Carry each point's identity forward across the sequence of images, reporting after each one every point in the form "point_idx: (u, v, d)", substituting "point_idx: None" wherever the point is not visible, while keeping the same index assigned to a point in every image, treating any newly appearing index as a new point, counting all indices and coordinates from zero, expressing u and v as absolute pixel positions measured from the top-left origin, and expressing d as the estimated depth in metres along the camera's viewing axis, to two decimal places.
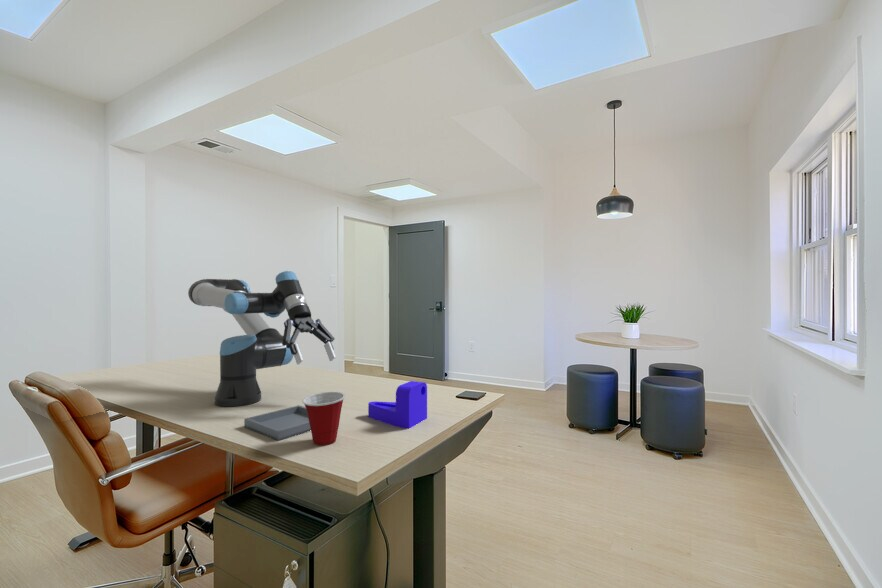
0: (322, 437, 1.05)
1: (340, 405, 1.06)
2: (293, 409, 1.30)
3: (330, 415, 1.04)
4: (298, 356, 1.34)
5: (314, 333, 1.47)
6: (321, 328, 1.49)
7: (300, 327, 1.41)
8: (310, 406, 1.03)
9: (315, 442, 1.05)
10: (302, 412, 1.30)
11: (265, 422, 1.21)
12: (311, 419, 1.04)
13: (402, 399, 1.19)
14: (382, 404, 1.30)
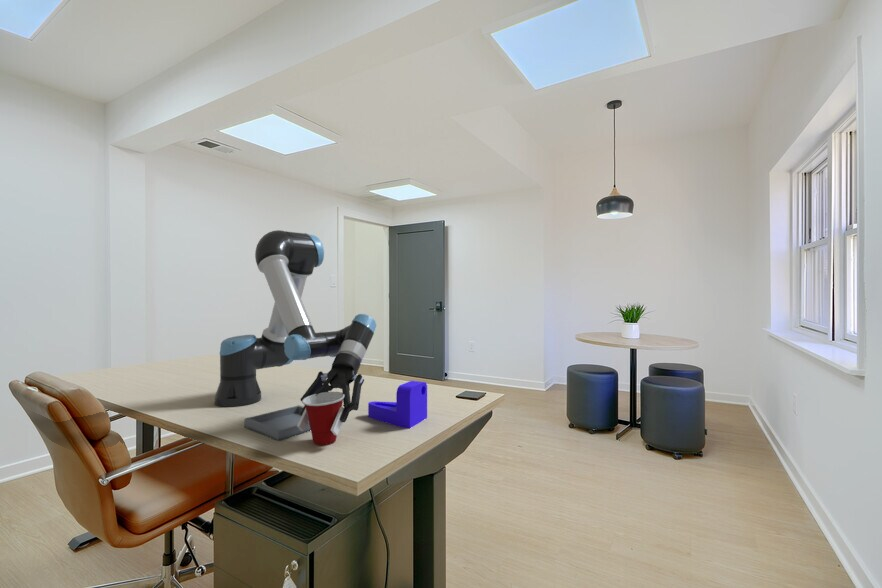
0: (322, 437, 1.05)
1: (340, 405, 1.06)
2: (293, 409, 1.30)
3: (330, 415, 1.04)
4: (339, 427, 1.04)
5: (325, 388, 1.13)
6: (319, 386, 1.15)
7: None
8: (310, 406, 1.03)
9: (315, 442, 1.05)
10: None
11: (265, 422, 1.21)
12: (311, 419, 1.04)
13: (402, 399, 1.19)
14: (382, 404, 1.30)
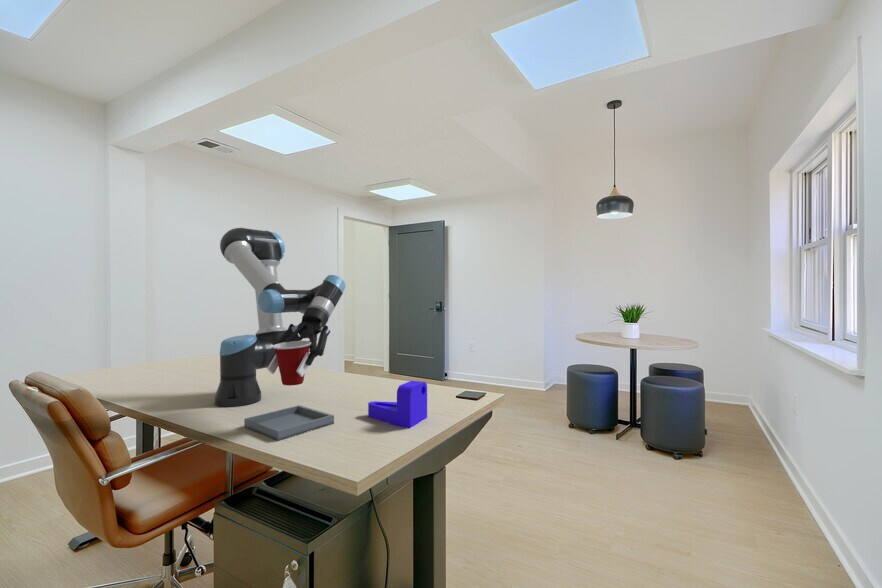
0: (289, 378, 1.17)
1: (306, 350, 1.19)
2: (293, 409, 1.30)
3: (297, 358, 1.17)
4: (304, 369, 1.17)
5: (295, 338, 1.25)
6: (290, 337, 1.27)
7: None
8: (278, 349, 1.15)
9: (283, 383, 1.18)
10: (302, 412, 1.30)
11: (265, 422, 1.21)
12: (280, 362, 1.17)
13: (403, 398, 1.19)
14: (382, 404, 1.30)
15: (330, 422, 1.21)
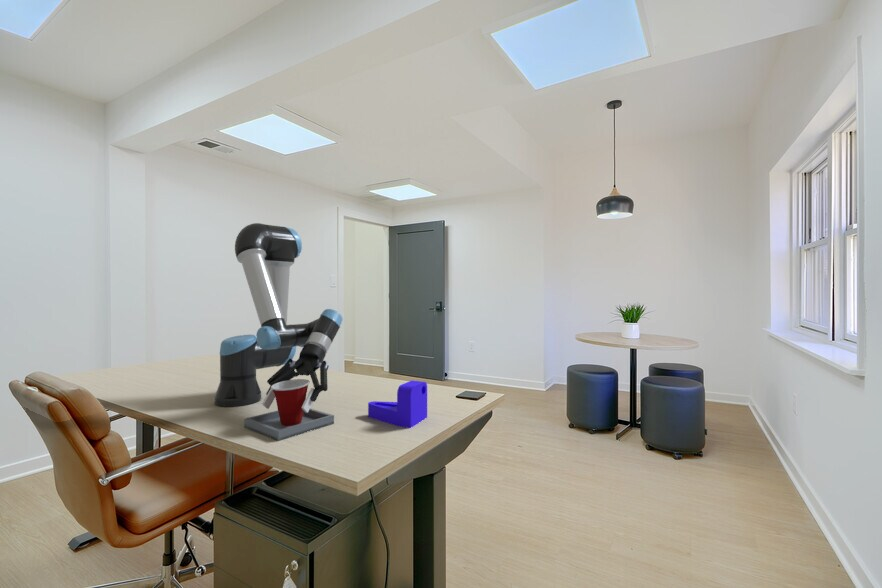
0: (288, 419, 1.18)
1: (304, 390, 1.20)
2: None
3: (295, 399, 1.18)
4: (309, 405, 1.18)
5: (291, 374, 1.27)
6: (286, 372, 1.29)
7: None
8: (277, 391, 1.16)
9: (282, 423, 1.19)
10: None
11: (265, 422, 1.21)
12: (278, 402, 1.18)
13: (403, 398, 1.19)
14: (382, 404, 1.30)
15: (330, 422, 1.21)
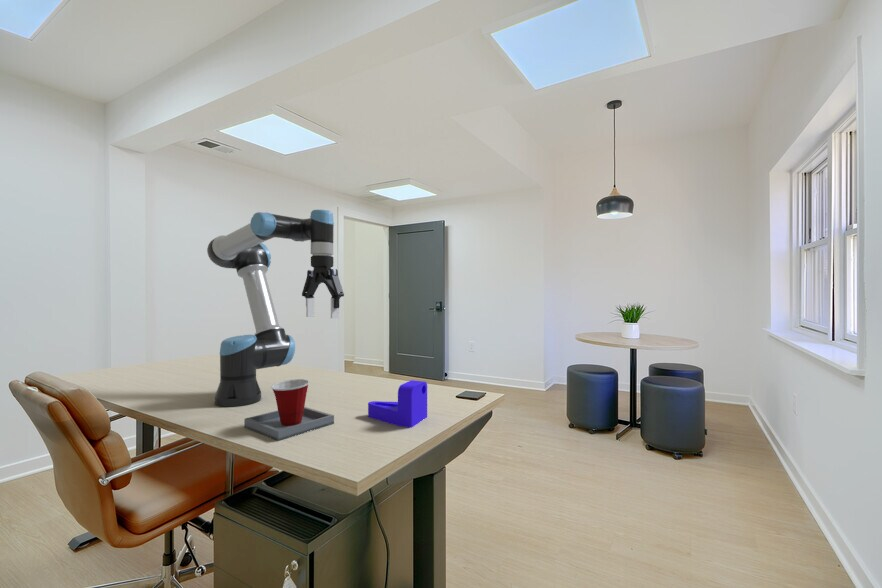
0: (288, 419, 1.18)
1: (304, 390, 1.20)
2: None
3: (295, 399, 1.18)
4: (336, 312, 1.36)
5: (314, 285, 1.42)
6: None
7: None
8: (277, 391, 1.16)
9: (282, 423, 1.19)
10: None
11: (265, 422, 1.21)
12: (278, 402, 1.18)
13: (404, 398, 1.20)
14: (382, 404, 1.30)
15: (330, 422, 1.21)
